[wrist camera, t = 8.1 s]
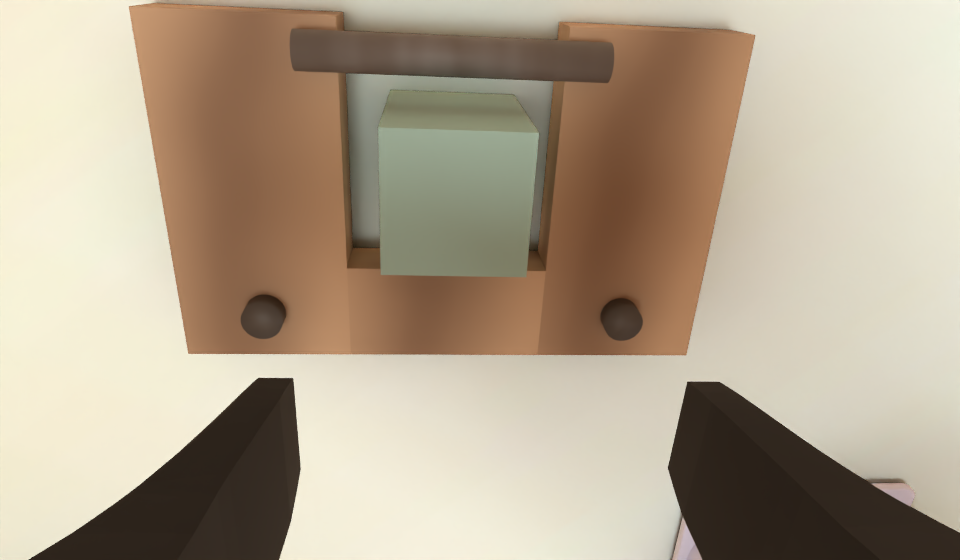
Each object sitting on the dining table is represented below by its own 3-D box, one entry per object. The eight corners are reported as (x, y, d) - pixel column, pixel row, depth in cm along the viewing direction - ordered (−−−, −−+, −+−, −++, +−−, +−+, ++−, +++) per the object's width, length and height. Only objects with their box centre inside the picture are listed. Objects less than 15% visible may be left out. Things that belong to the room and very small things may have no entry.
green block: (513, 94, 19) (539, 132, 15) (505, 210, 21) (526, 277, 16) (390, 89, 19) (378, 127, 14) (391, 207, 20) (380, 274, 16)
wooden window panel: (730, 29, 19) (773, 38, 16) (670, 330, 23) (697, 371, 21) (153, 3, 17) (110, 8, 15) (204, 328, 22) (176, 371, 19)
